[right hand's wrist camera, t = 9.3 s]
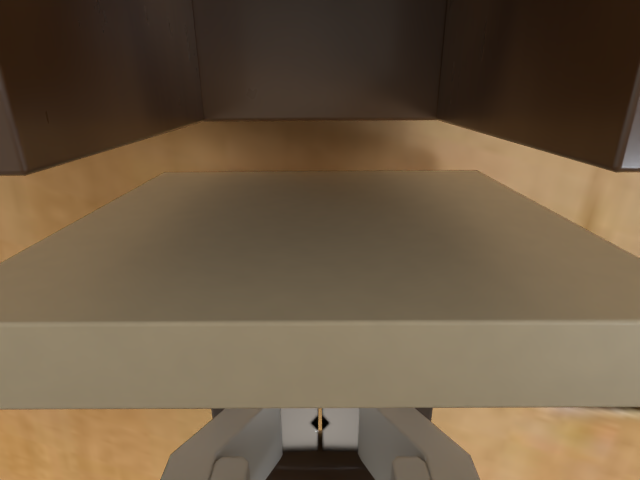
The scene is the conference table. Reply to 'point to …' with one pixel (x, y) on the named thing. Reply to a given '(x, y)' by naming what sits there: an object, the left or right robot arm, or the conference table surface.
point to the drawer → (319, 212)
